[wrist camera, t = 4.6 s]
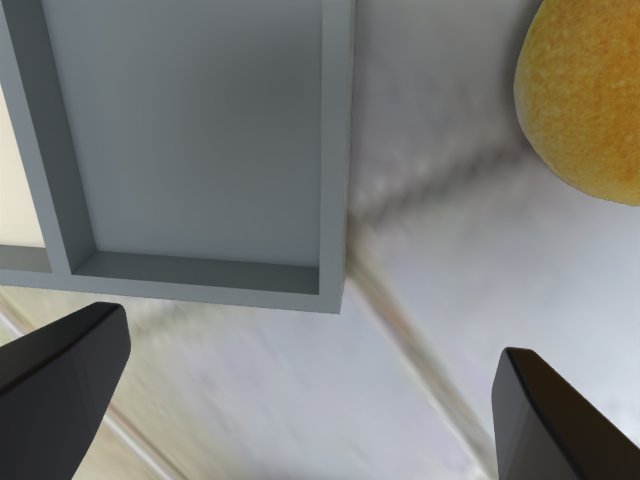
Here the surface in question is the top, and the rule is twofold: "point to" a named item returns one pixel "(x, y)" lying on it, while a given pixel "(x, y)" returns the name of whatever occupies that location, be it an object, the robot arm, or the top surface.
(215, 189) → the gray divided tray
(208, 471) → the top surface
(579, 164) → the bread roll
